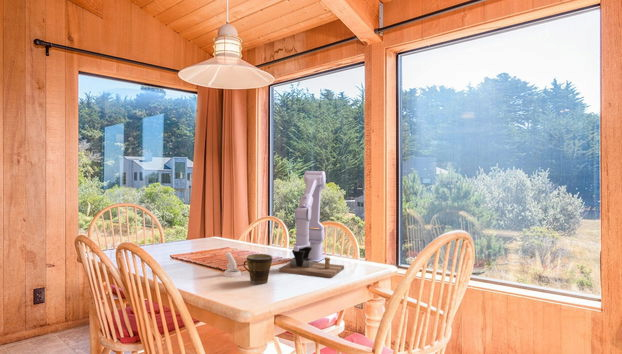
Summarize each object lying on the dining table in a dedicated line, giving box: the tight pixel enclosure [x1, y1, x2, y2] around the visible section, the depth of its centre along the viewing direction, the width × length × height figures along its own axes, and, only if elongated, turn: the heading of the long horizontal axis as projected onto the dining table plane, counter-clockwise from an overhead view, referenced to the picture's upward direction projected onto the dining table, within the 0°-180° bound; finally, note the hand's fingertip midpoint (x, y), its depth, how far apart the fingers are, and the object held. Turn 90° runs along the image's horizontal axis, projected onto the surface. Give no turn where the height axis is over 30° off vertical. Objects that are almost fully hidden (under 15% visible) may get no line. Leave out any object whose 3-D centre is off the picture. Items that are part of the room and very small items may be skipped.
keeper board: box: [278, 256, 345, 279], centre depth 178 cm, size 18×24×6 cm
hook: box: [223, 251, 243, 278], centre depth 166 cm, size 8×12×7 cm
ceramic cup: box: [243, 253, 273, 285], centre depth 155 cm, size 13×10×10 cm
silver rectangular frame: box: [289, 257, 314, 268], centre depth 180 cm, size 6×9×3 cm, turn 69°
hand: (301, 264), depth 180 cm, fingers closed on silver rectangular frame, 6 cm apart
